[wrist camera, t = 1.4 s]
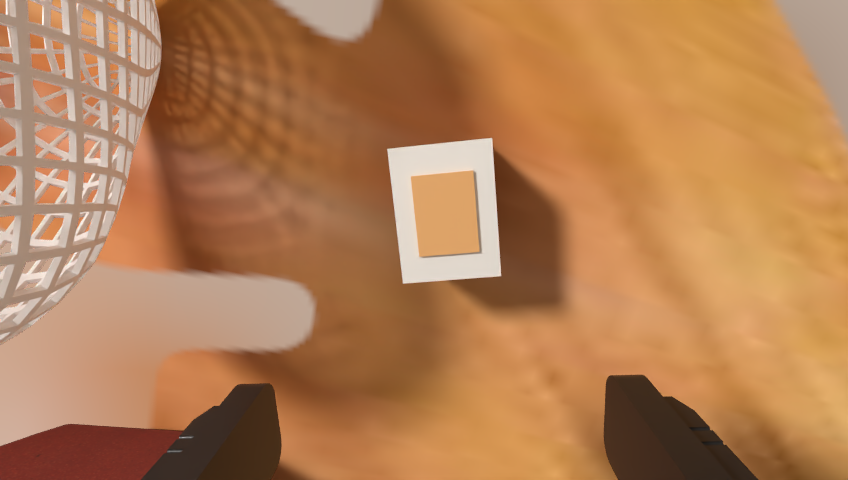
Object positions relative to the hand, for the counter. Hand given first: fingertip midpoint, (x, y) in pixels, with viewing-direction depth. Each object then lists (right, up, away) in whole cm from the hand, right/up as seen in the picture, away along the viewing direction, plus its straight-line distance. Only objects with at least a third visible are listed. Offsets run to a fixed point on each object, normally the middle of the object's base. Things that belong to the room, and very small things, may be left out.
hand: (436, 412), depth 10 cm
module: (+1, +7, +18) cm, 19 cm away
